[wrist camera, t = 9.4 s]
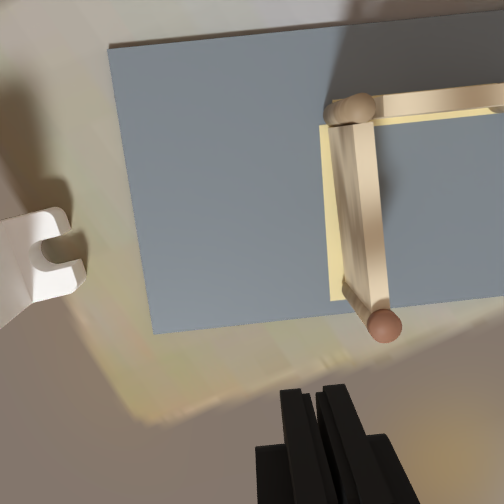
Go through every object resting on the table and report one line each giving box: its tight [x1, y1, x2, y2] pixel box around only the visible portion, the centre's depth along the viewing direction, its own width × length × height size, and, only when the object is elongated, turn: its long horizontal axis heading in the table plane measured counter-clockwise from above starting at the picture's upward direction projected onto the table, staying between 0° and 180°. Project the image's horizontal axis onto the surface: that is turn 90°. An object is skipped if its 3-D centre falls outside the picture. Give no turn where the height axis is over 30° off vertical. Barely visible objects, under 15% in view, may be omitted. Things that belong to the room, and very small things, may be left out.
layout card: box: [107, 10, 504, 334], centre depth 29 cm, size 25×18×1 cm
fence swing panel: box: [323, 93, 402, 343], centre depth 26 cm, size 13×2×7 cm, turn 9°
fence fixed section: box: [370, 82, 504, 120], centre depth 25 cm, size 10×2×6 cm, turn 96°
